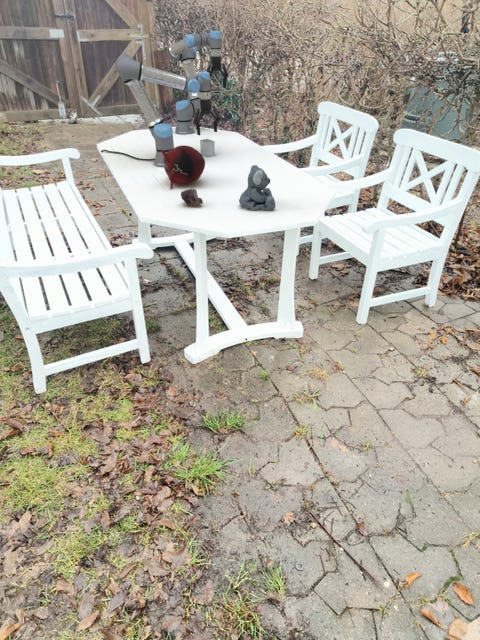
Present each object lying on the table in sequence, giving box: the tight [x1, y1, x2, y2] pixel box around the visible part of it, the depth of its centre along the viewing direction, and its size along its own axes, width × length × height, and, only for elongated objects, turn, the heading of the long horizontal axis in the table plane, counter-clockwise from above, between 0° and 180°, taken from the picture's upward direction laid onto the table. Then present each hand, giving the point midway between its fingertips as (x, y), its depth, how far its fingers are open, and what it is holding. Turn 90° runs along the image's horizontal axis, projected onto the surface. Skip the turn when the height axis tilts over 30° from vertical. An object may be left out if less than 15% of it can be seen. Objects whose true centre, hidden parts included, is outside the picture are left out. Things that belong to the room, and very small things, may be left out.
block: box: [199, 138, 216, 158], centre depth 309 cm, size 6×9×10 cm
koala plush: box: [238, 164, 276, 211], centre depth 224 cm, size 17×18×20 cm
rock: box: [180, 188, 204, 207], centre depth 229 cm, size 12×9×10 cm
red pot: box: [161, 145, 206, 190], centre depth 256 cm, size 21×24×25 cm
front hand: (207, 133), depth 304 cm, fingers open, 13 cm apart
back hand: (217, 89), depth 336 cm, fingers open, 13 cm apart
